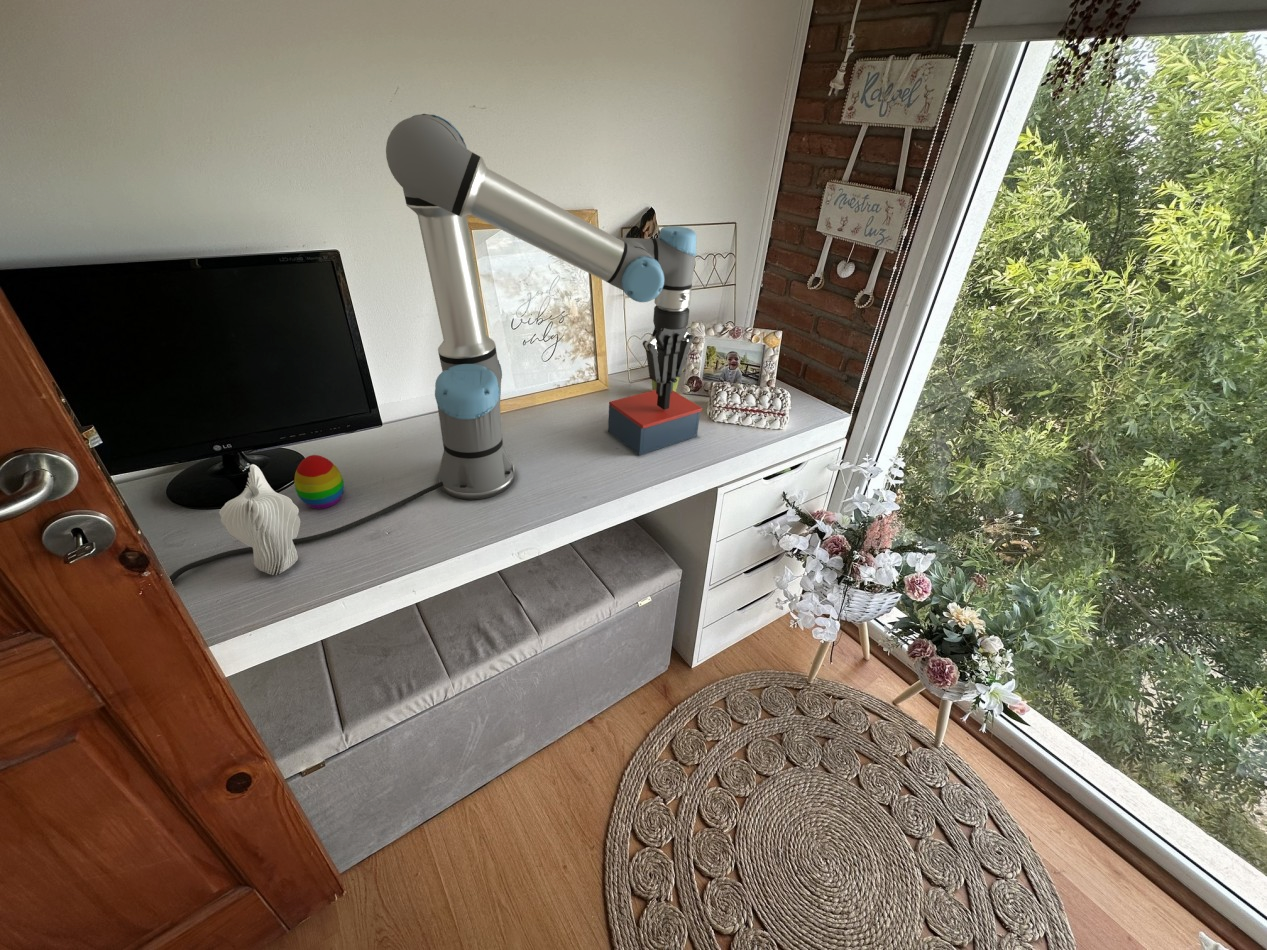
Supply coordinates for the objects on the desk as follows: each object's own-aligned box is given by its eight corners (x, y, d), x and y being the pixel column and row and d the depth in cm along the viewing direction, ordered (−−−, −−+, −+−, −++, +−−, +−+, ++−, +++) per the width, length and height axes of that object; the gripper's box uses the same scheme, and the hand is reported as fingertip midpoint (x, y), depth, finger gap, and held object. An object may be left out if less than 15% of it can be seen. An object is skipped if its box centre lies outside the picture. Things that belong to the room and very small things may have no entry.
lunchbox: (697, 436, 142) (700, 410, 138) (639, 455, 133) (641, 427, 129) (664, 415, 151) (666, 389, 147) (607, 431, 142) (608, 404, 138)
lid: (702, 411, 138) (702, 408, 138) (642, 428, 129) (642, 425, 129) (666, 389, 147) (666, 386, 147) (608, 404, 138) (608, 401, 138)
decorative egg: (291, 506, 111) (276, 462, 105) (323, 485, 117) (311, 442, 112) (325, 517, 108) (311, 472, 103) (356, 494, 115) (345, 451, 110)
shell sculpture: (278, 589, 93) (243, 498, 83) (240, 574, 95) (202, 483, 85) (319, 558, 99) (291, 470, 89) (283, 545, 101) (252, 457, 92)
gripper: (658, 315, 117) (650, 419, 130) (706, 307, 123) (694, 406, 136) (636, 305, 122) (631, 406, 135) (684, 297, 128) (674, 394, 141)
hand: (662, 406), depth 135 cm, fingers closed
